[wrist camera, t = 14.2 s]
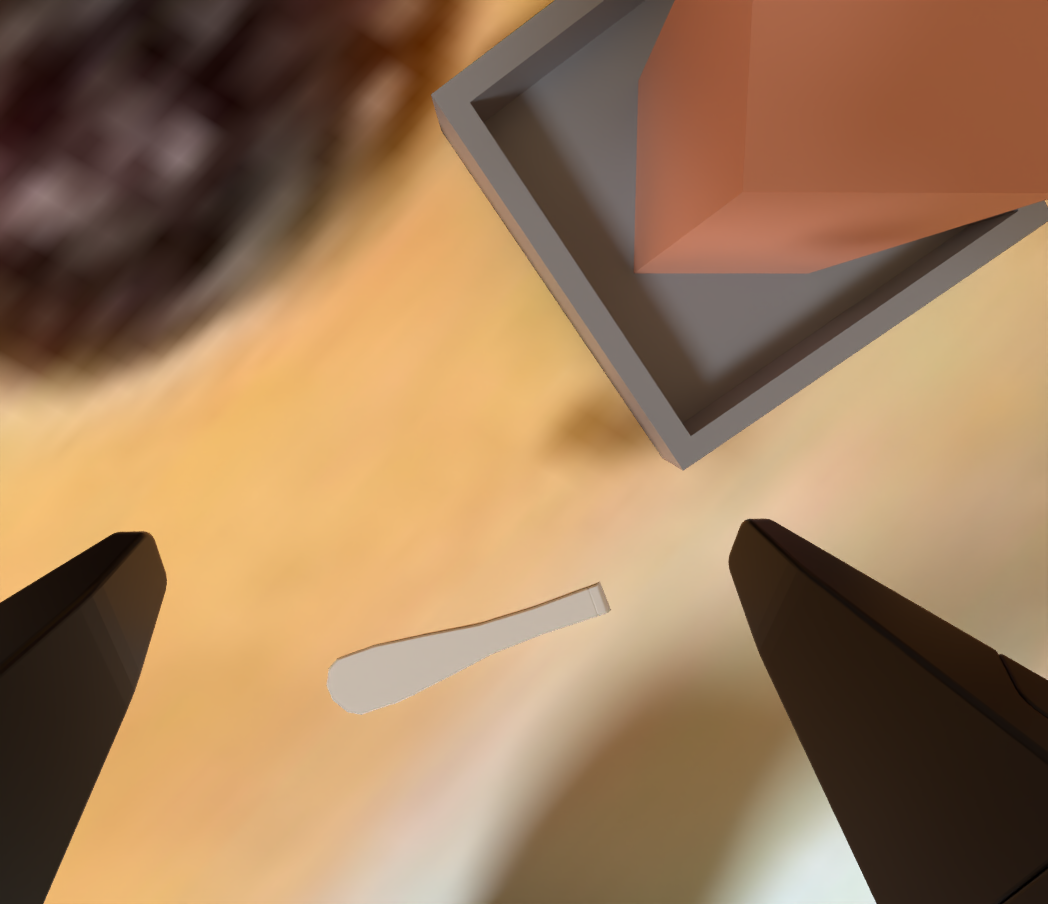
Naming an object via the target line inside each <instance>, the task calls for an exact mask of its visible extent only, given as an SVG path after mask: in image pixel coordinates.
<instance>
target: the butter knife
mask: <svg viewBox="0 0 1048 904" xmlns="http://www.w3.org/2000/svg"><path fill="white" fill-rule="evenodd" d="M610 610H611V609H610V606H609V604H608V601H607V599H606V596H605V594H604V591H603V589H602V586H601V583H599V582H598V583H597V584H595V585H593V586H590V587H589V588H584V589H581V590H579V591H576V592H573V593H571V594H568V595H565V596H562V597H560V598H557V599H554V600H551V601H549V602H546V603H543V604H540V605H538V606H535V607H532V608H529V609H526V610H522V611H519V612H516V613H513V614H509V615H506V616H503V617H500V618H497V619H493V620H490V621H487V622H484V623H480V624H476V625H471V626H466V627H461V628H456V629H451V630H446V631H440V632H435V633H430V634H424V635H420V636H415V637H411V638H406V639H402V640H397V641H392V642H387V643H382V644H377V645H373V646H371V647H368V648H365V649H362V650H359V651H356V652H354V653H351V654H348V655H345V656H343V657H340V658H337V659H336V661H335V662H334V663H333V664H332V665H331V666H330V668H329V672H328V680H327V688H328V690H329V692H330V695H331V697H332V699H333V701H334V702H336V703H337V704H338V705H339V706H341V707H342V708H343V709H344V710H346V711H347V712H349V713H355V714H361V715H362V714H365V713H368V712H371V711H374V710H377V709H380V708H383V707H386V706H389V705H392V704H395V703H398V702H400V701H402V700H404V699H406V698H408V697H410V696H413V695H415V694H416V693H418V692H420V691H422V690H424V689H426V688H428V687H430V686H432V685H434V684H436V683H438V682H440V681H442V680H444V679H446V678H448V677H450V676H451V675H453V674H455V673H457V672H459V671H461V670H463V669H465V668H467V667H469V666H471V665H472V664H474V663H476V662H478V661H480V660H482V659H484V658H486V657H487V656H489V655H491V654H494V653H496V652H499V651H501V650H504V649H507V648H509V647H512V646H514V645H517V644H519V643H522V642H524V641H527V640H530V639H532V638H535V637H537V636H540V635H542V634H545V633H548V632H552V631H555V630H558V629H561V628H564V627H567V626H570V625H573V624H576V623H579V622H582V621H585V620H588V619H591V618H594V617H597V616H598V615H599V616H600V615H603V614H606V613H608V612H609V611H610Z"/></svg>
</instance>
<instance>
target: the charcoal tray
mask: <svg viewBox="0 0 1048 904" xmlns="http://www.w3.org/2000/svg"><path fill="white" fill-rule="evenodd" d="M674 1H675V0H554V1H553V2H552V3H551V4H549V5H548V6H547V7H545V8H544V9H543V10H541V11H540V12H539V13H537V14H536V15H535V16H534V17H532V18H531V19H530V20H528V21H527V22H526V23H524V24H523V25H522V26H520V27H519V28H518V29H516V30H515V31H514V32H513V33H511V34H510V35H509V36H507V37H506V38H505V39H503V40H502V41H501V42H499V43H498V44H497V45H496V46H494V47H493V48H492V49H490V50H489V51H488V52H486V53H485V54H484V55H482V56H481V57H480V58H478V59H477V60H476V61H475V62H473V63H472V64H471V65H469V66H468V67H467V68H465V69H464V70H463V71H461V72H460V73H459V74H458V75H456V76H455V77H454V78H452V79H451V80H450V81H448V82H447V83H446V84H444V85H443V86H442V87H440V88H439V89H438V90H437V91H435V92H434V93H433V94H431V96H432V99H433V103H434V106H435V110H436V113H437V117H438V120H439V124H440V127H441V131H442V132H443V134H444V135H445V136H446V138H447V139H448V141H449V142H450V144H451V145H452V147H453V148H454V150H455V151H456V153H457V154H458V156H459V157H460V159H461V160H462V162H463V163H464V165H465V166H466V168H467V169H468V171H469V172H470V174H471V175H472V176H473V178H474V179H475V181H476V182H477V184H478V185H479V187H480V188H481V190H482V191H483V193H484V194H485V196H486V197H487V199H488V200H489V202H490V203H491V205H492V206H493V208H494V209H495V211H496V212H497V214H498V215H499V217H500V218H501V219H502V221H503V222H504V224H505V225H506V227H507V228H508V230H509V231H510V233H511V234H512V236H513V237H514V239H515V240H516V242H517V243H518V245H519V246H520V248H521V249H522V251H523V252H524V254H525V255H526V257H527V258H528V259H529V261H530V262H531V264H532V265H533V267H534V268H535V270H536V271H537V273H538V274H539V276H540V277H541V279H542V280H543V282H544V283H545V285H546V286H547V288H548V289H549V291H550V292H551V294H552V295H553V297H554V298H555V299H556V301H557V302H558V304H559V305H560V307H561V308H562V310H563V311H564V313H565V314H566V316H567V317H568V319H569V320H570V322H571V323H572V325H573V326H574V328H575V329H576V331H577V332H578V334H579V335H580V337H581V338H582V340H583V341H584V342H585V344H586V345H587V347H588V348H589V350H590V351H591V353H592V354H593V356H594V357H595V359H596V360H597V362H598V363H599V365H600V366H601V368H602V369H603V371H604V372H605V374H606V375H607V377H608V378H609V380H610V381H611V382H612V384H613V385H614V387H615V388H616V390H617V391H618V393H619V394H620V396H621V397H622V399H623V400H624V402H625V403H626V405H627V406H628V408H629V409H630V411H631V412H632V414H633V415H634V417H635V418H636V420H637V421H638V423H639V424H640V425H641V427H642V428H643V430H644V431H645V433H646V434H647V436H648V437H649V439H650V440H651V442H652V443H653V445H654V446H655V448H656V449H657V451H658V452H659V454H660V455H661V457H662V458H663V459H665V460H667V461H668V462H670V463H672V464H673V465H675V466H677V467H678V468H680V469H682V470H685V469H686V468H688V467H689V466H691V465H692V464H694V463H695V462H697V461H698V460H700V459H701V458H702V457H704V456H705V455H707V454H708V453H710V452H711V451H713V450H714V449H716V448H717V447H719V446H720V445H721V444H723V443H724V442H726V441H727V440H729V439H730V438H732V437H733V436H735V435H736V434H738V433H739V432H740V431H742V430H743V429H745V428H746V427H748V426H749V425H751V424H752V423H754V422H755V421H757V420H758V419H759V418H761V417H762V416H764V415H765V414H767V413H768V412H770V411H771V410H773V409H774V408H776V407H777V406H779V405H780V404H781V403H783V402H784V401H786V400H787V399H789V398H790V397H792V396H793V395H795V394H796V393H798V392H799V391H800V390H802V389H803V388H805V387H806V386H808V385H809V384H811V383H812V382H814V381H815V380H817V379H818V378H819V377H821V376H822V375H824V374H825V373H827V372H828V371H830V370H831V369H833V368H834V367H836V366H837V365H838V364H840V363H841V362H843V361H844V360H846V359H847V358H849V357H850V356H852V355H853V354H855V353H856V352H858V351H859V350H860V349H862V348H863V347H865V346H866V345H868V344H869V343H871V342H872V341H874V340H875V339H877V338H878V337H879V336H881V335H882V334H884V333H885V332H887V331H888V330H890V329H891V328H893V327H894V326H896V325H897V324H898V323H900V322H901V321H903V320H904V319H906V318H907V317H909V316H910V315H912V314H913V313H915V312H916V311H917V310H919V309H920V308H922V307H923V306H925V305H926V304H928V303H929V302H931V301H932V300H934V299H935V298H936V297H938V296H939V295H941V294H942V293H944V292H945V291H947V290H948V289H950V288H951V287H953V286H954V285H956V284H957V283H958V282H960V281H961V280H963V279H964V278H966V277H967V276H969V275H970V274H972V273H973V272H975V271H976V270H977V269H979V268H980V267H982V266H983V265H985V264H986V263H988V262H989V261H991V260H992V259H994V258H995V257H996V256H998V255H999V254H1001V253H1002V252H1004V251H1005V250H1007V249H1008V248H1010V247H1011V246H1013V245H1014V244H1015V243H1017V242H1018V241H1020V240H1021V239H1023V238H1024V237H1026V236H1027V235H1029V234H1030V233H1032V232H1033V231H1035V230H1036V229H1037V228H1039V227H1040V226H1042V225H1043V224H1045V223H1046V222H1048V207H1047V205H1046V203H1045V201H1040V202H1037V203H1034V204H1031V205H1028V206H1024V207H1021V208H1018V209H1015V210H1011V211H1008V212H1005V213H1002V214H999V215H995V216H992V217H989V218H986V219H982V220H979V221H976V222H973V223H970V224H966V225H963V226H960V227H957V228H953V229H950V230H947V231H944V232H941V233H937V234H934V235H931V236H928V237H924V238H921V239H918V240H915V241H912V242H908V243H905V244H902V245H899V246H895V247H892V248H889V249H886V250H883V251H879V252H876V253H873V254H870V255H867V256H863V257H860V258H857V259H854V260H850V261H847V262H844V263H841V264H838V265H834V266H831V267H828V268H825V269H821V270H818V271H815V272H812V273H809V274H769V273H634V239H635V198H636V157H637V116H638V80H639V78H640V76H641V74H642V72H643V69H644V67H645V65H646V63H647V60H648V58H649V56H650V54H651V52H652V49H653V47H654V45H655V43H656V41H657V38H658V36H659V34H660V32H661V29H662V27H663V25H664V23H665V21H666V18H667V16H668V14H669V12H670V10H671V7H672V5H673V3H674Z"/></svg>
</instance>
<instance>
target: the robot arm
mask: <svg viewBox="0 0 1048 904" xmlns="http://www.w3.org/2000/svg"><path fill="white" fill-rule="evenodd" d="M729 569H730V573H731V575H732V578H733V581H734V584H735V587H736V590H737V593H738V595H739V598H740V601H741V604H742V607H743V610H744V613H745V616H746V618H747V621H748V624H749V627H750V630H751V633H752V636H753V638H754V641H755V644H756V646H757V649H758V651H759V654H760V656H761V658H762V660H763V663H764V665H765V667H766V669H767V671H768V674H769V676H770V678H771V680H772V682H773V684H774V686H775V688H776V691H777V693H778V695H779V697H780V699H781V701H782V703H783V705H784V708H785V710H786V712H787V714H788V716H789V718H790V720H791V723H792V725H793V727H794V729H795V731H796V733H797V735H798V737H799V740H800V742H801V744H802V746H803V748H804V750H805V752H806V754H807V757H808V759H809V761H810V763H811V765H812V767H813V769H814V771H815V774H816V776H817V778H818V780H819V782H820V784H821V786H822V788H823V791H824V793H825V795H826V797H827V799H828V801H829V803H830V805H831V808H832V810H833V812H834V814H835V816H836V818H837V820H838V823H839V825H840V827H841V829H842V831H843V833H844V835H845V837H846V840H847V842H848V844H849V846H850V848H851V850H852V852H853V854H854V857H855V859H856V861H857V863H858V865H859V867H860V869H861V871H862V874H863V876H864V878H865V880H866V882H867V884H868V886H869V888H870V891H871V893H872V895H873V897H874V899H875V901H876V903H877V904H1048V680H1046V679H1045V678H1043V677H1041V676H1039V675H1038V674H1036V673H1034V672H1032V671H1031V670H1029V669H1027V668H1025V667H1024V666H1022V665H1020V664H1019V663H1017V662H1015V661H1013V660H1012V659H1010V658H1008V657H1007V656H1005V655H1003V654H998V653H997V651H996V650H994V649H993V648H991V647H989V646H987V645H986V644H984V643H982V642H981V641H979V640H977V639H975V638H974V637H972V636H970V635H969V634H967V633H965V632H963V631H962V630H960V629H958V628H956V627H955V626H953V625H951V624H950V623H948V622H946V621H944V620H943V619H941V618H939V617H938V616H936V615H934V614H932V613H931V612H929V611H927V610H926V609H924V608H922V607H920V606H919V605H917V604H915V603H913V602H912V601H910V600H908V599H907V598H905V597H903V596H901V595H900V594H898V593H896V592H895V591H893V590H891V589H889V588H888V587H886V586H884V585H882V584H881V583H879V582H877V581H876V580H874V579H872V578H870V577H869V576H867V575H865V574H864V573H862V572H860V571H858V570H857V569H855V568H853V567H852V566H850V565H848V564H846V563H845V562H843V561H841V560H840V559H838V558H836V557H834V556H833V555H831V554H829V553H827V552H826V551H824V550H822V549H821V548H819V547H817V546H815V545H814V544H812V543H810V542H809V541H807V540H805V539H803V538H802V537H800V536H798V535H797V534H795V533H793V532H791V531H790V530H788V529H786V528H785V527H783V526H781V525H779V524H778V523H776V522H774V521H772V520H770V519H748V520H745V521H744V522H743V523H742V524H741V526H740V528H739V531H738V534H737V536H736V539H735V542H734V544H733V547H732V550H731V552H730V555H729ZM166 585H167V578H166V572H165V569H164V566H163V563H162V560H161V557H160V554H159V551H158V548H157V545H156V542H155V540H154V538H153V536H152V535H151V534H150V533H148V532H144V531H139V532H117V533H114V534H112V535H110V536H108V537H107V538H105V539H103V540H102V541H100V542H99V543H97V544H95V545H94V546H92V547H90V548H89V549H87V550H86V551H84V552H82V553H81V554H79V555H77V556H76V557H74V558H72V559H71V560H69V561H68V562H66V563H64V564H63V565H61V566H59V567H58V568H56V569H54V570H53V571H51V572H50V573H48V574H46V575H45V576H43V577H41V578H40V579H38V580H37V581H35V582H33V583H32V584H30V585H28V586H27V587H25V588H23V589H22V590H20V591H19V592H17V593H15V594H14V595H12V596H10V597H9V598H7V599H6V600H4V601H2V602H1V603H0V904H43V903H44V901H45V899H46V896H47V894H48V892H49V890H50V887H51V885H52V883H53V880H54V878H55V876H56V873H57V871H58V869H59V866H60V864H61V862H62V859H63V857H64V855H65V853H66V850H67V848H68V846H69V843H70V841H71V839H72V836H73V834H74V832H75V829H76V827H77V825H78V822H79V820H80V818H81V816H82V813H83V811H84V809H85V806H86V804H87V802H88V799H89V797H90V795H91V792H92V790H93V788H94V785H95V783H96V781H97V779H98V776H99V774H100V772H101V769H102V767H103V765H104V762H105V760H106V758H107V755H108V753H109V751H110V748H111V746H112V744H113V742H114V739H115V737H116V735H117V732H118V730H119V728H120V725H121V723H122V721H123V718H124V716H125V714H126V711H127V709H128V707H129V704H130V702H131V699H132V697H133V694H134V692H135V689H136V686H137V683H138V680H139V677H140V674H141V671H142V667H143V664H144V661H145V657H146V654H147V651H148V647H149V644H150V641H151V637H152V634H153V631H154V628H155V624H156V621H157V618H158V614H159V611H160V608H161V604H162V601H163V598H164V594H165V591H166Z"/></svg>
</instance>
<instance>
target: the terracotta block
mask: <svg viewBox="0 0 1048 904" xmlns="http://www.w3.org/2000/svg"><path fill="white" fill-rule="evenodd" d="M1047 199H1048V0H675V1H674V3H673V5H672V7H671V10H670V12H669V14H668V16H667V18H666V21H665V23H664V25H663V27H662V29H661V32H660V34H659V36H658V38H657V41H656V43H655V45H654V47H653V49H652V52H651V54H650V56H649V58H648V60H647V63H646V65H645V67H644V69H643V72H642V74H641V76H640V78H639V80H638V116H637V157H636V198H635V239H634V273H769V274H809V273H812V272H815V271H818V270H821V269H825V268H828V267H831V266H834V265H838V264H841V263H844V262H847V261H850V260H854V259H857V258H860V257H863V256H867V255H870V254H873V253H876V252H879V251H883V250H886V249H889V248H892V247H895V246H899V245H902V244H905V243H908V242H912V241H915V240H918V239H921V238H924V237H928V236H931V235H934V234H937V233H941V232H944V231H947V230H950V229H953V228H957V227H960V226H963V225H966V224H970V223H973V222H976V221H979V220H982V219H986V218H989V217H992V216H995V215H999V214H1002V213H1005V212H1008V211H1011V210H1015V209H1018V208H1021V207H1024V206H1028V205H1031V204H1034V203H1037V202H1040V201H1044V200H1047Z"/></svg>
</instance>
